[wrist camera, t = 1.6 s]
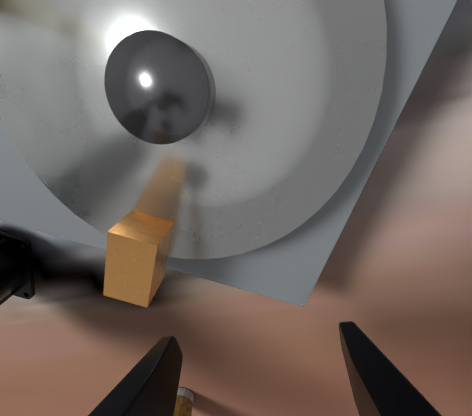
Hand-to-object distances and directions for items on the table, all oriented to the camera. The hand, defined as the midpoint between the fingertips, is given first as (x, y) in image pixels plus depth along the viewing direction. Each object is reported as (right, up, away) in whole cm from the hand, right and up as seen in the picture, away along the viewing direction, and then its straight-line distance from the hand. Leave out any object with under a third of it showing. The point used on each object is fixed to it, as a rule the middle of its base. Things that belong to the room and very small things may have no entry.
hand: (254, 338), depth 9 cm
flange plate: (-4, +9, +5) cm, 11 cm away
